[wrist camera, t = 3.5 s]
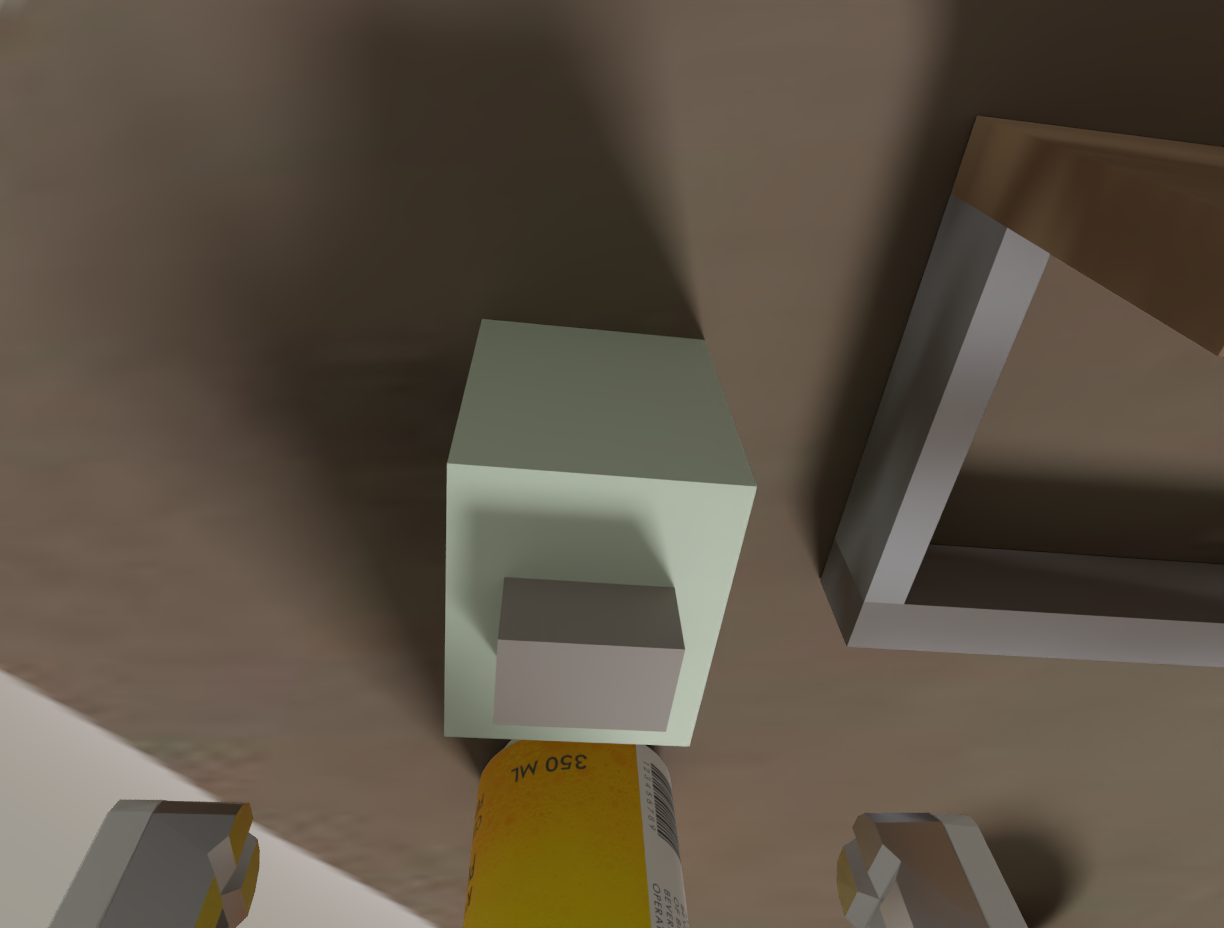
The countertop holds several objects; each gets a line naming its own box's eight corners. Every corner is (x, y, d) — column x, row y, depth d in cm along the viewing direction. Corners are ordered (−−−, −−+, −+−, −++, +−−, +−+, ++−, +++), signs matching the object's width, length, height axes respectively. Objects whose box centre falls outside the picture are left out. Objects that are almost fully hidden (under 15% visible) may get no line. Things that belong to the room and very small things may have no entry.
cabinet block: (661, 560, 21) (699, 812, 15) (474, 548, 21) (433, 803, 15) (704, 338, 18) (777, 543, 12) (482, 317, 18) (433, 520, 11)
